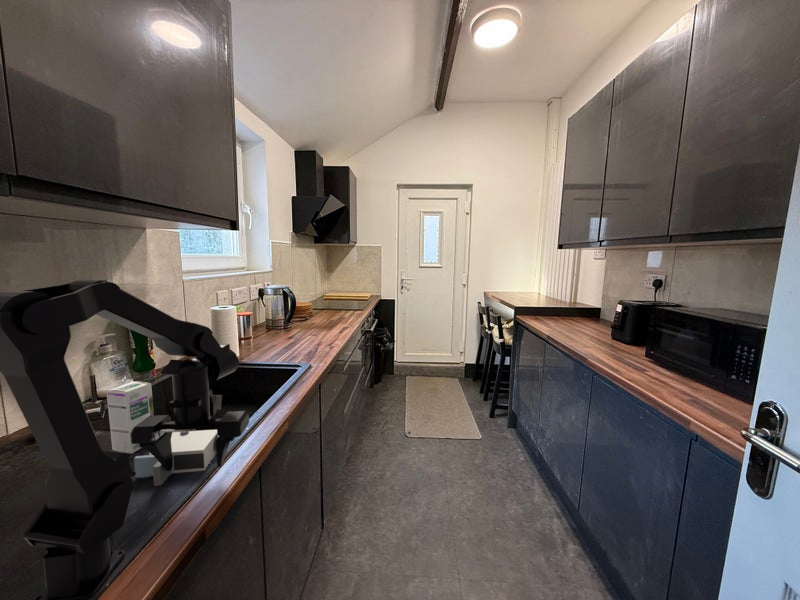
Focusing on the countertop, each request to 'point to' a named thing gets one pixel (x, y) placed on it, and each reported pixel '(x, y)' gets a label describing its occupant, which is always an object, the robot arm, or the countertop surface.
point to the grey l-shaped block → (151, 469)
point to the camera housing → (192, 450)
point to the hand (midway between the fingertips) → (195, 467)
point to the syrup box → (128, 412)
